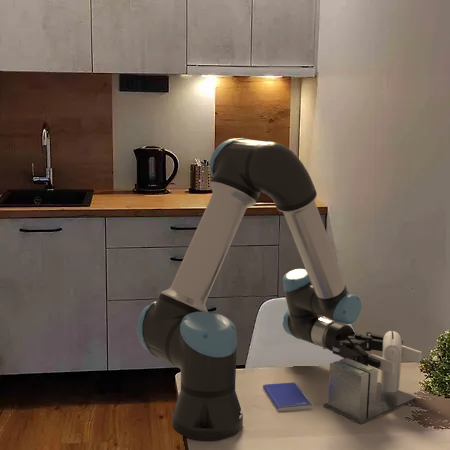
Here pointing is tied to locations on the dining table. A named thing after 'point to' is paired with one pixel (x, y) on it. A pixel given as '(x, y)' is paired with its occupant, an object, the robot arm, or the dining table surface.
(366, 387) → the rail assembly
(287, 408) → the hard drive
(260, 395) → the dining table surface
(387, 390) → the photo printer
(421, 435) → the dining table surface
